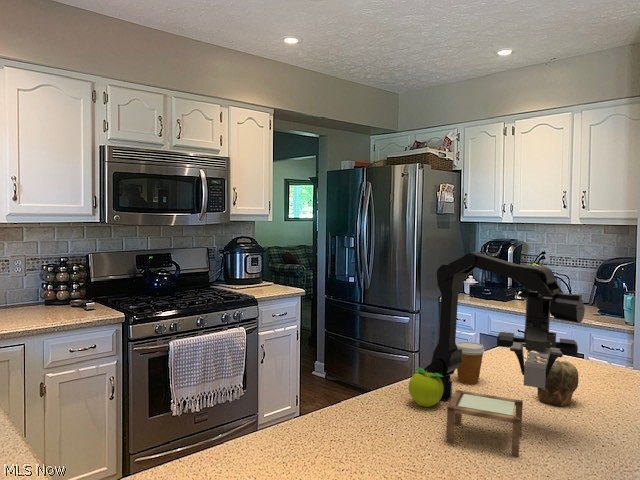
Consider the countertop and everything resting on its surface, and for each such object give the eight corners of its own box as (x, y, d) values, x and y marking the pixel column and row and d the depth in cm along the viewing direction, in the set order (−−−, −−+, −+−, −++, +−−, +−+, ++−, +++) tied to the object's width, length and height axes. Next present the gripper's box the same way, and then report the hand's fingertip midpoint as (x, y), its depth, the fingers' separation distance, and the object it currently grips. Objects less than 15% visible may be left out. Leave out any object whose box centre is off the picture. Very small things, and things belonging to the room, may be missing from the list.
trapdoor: (456, 409, 120) (456, 405, 120) (462, 397, 128) (462, 393, 128) (512, 419, 114) (512, 415, 114) (514, 405, 123) (514, 401, 123)
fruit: (420, 396, 149) (421, 363, 148) (448, 405, 142) (449, 371, 141) (401, 404, 142) (403, 369, 142) (430, 414, 136) (431, 378, 135)
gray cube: (523, 385, 128) (524, 366, 128) (524, 379, 133) (525, 360, 132) (544, 388, 126) (545, 369, 126) (544, 382, 131) (545, 363, 130)
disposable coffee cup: (477, 376, 168) (478, 341, 168) (487, 386, 159) (489, 349, 158) (449, 376, 168) (450, 341, 167) (458, 386, 158) (459, 348, 158)
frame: (446, 442, 119) (447, 407, 119) (455, 422, 131) (456, 389, 130) (518, 457, 112) (520, 419, 112) (521, 434, 124) (522, 400, 124)
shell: (582, 410, 141) (584, 368, 140) (540, 406, 143) (542, 364, 142) (571, 396, 151) (573, 357, 151) (532, 393, 154) (534, 354, 153)
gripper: (496, 318, 125) (493, 379, 126) (580, 326, 117) (577, 392, 118) (499, 310, 135) (497, 367, 136) (577, 318, 127) (574, 378, 128)
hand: (534, 376), depth 129 cm, fingers closed on gray cube, 5 cm apart
